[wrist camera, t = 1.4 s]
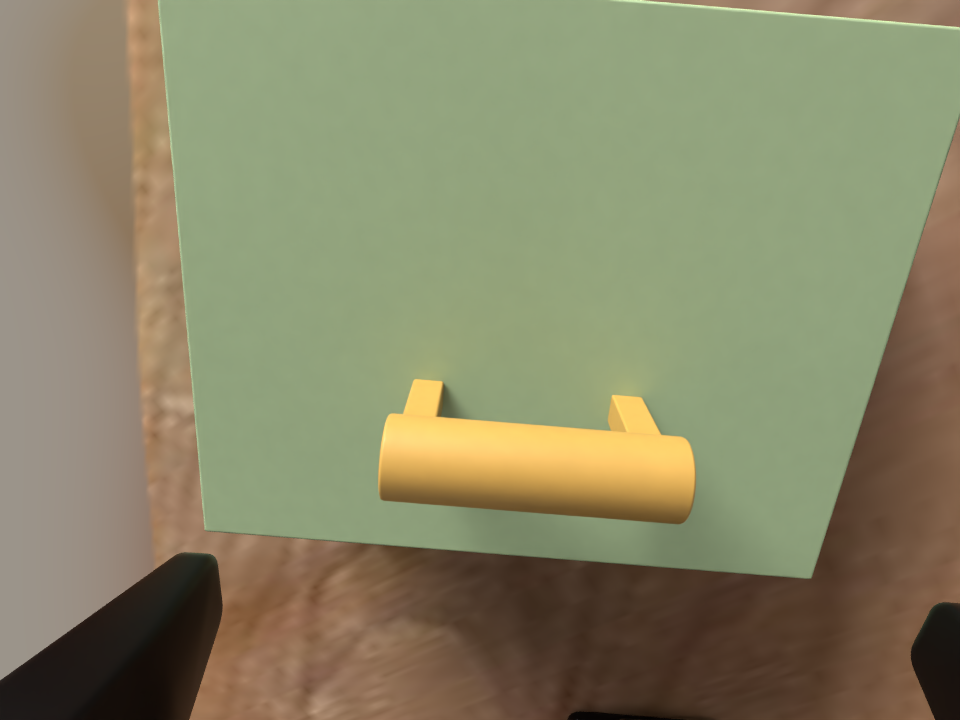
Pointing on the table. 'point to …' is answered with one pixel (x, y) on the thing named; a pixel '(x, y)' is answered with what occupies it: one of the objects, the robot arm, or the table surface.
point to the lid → (545, 267)
